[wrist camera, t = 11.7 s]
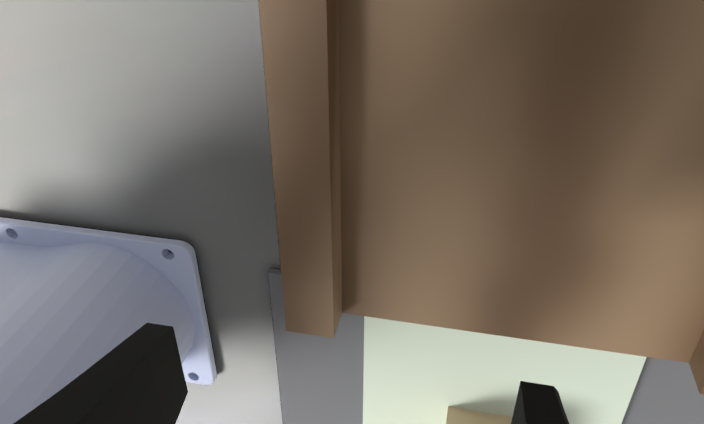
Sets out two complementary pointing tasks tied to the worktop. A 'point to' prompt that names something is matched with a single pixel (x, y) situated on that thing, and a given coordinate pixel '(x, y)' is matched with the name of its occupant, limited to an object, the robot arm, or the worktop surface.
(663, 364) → the charcoal mat
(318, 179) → the walnut box
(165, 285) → the robot arm
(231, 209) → the worktop surface
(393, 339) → the cover plate
